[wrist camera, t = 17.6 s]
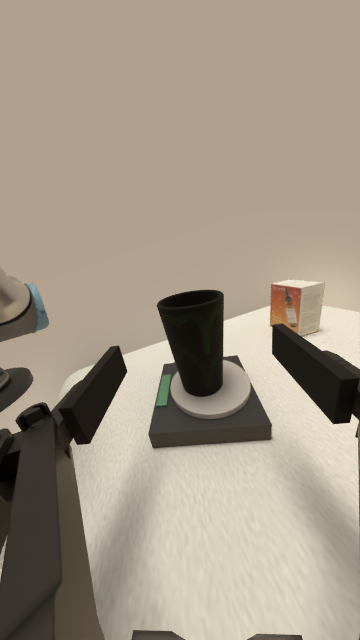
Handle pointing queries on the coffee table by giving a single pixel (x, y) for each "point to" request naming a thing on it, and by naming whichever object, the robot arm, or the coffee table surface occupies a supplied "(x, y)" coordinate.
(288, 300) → the small box
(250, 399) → the scale
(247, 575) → the coffee table surface
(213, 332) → the cup
